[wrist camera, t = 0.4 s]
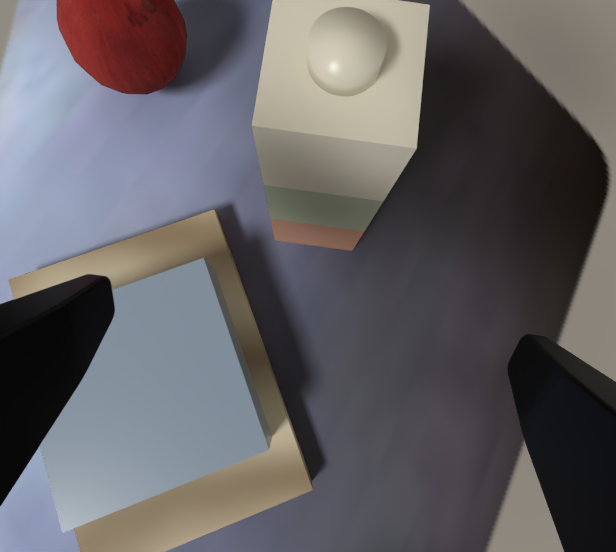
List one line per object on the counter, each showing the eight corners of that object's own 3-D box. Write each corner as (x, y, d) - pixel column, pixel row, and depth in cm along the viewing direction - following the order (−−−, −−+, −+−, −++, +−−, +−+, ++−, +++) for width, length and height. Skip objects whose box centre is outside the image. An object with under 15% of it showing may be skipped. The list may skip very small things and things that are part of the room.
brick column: (352, 250, 22) (426, 132, 10) (274, 240, 22) (248, 108, 10) (360, 177, 23) (439, -21, 10) (285, 167, 23) (274, -44, 10)
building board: (311, 481, 20) (312, 489, 19) (101, 568, 19) (88, 583, 18) (218, 216, 22) (214, 209, 21) (24, 283, 21) (8, 279, 20)
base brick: (272, 436, 19) (268, 449, 17) (91, 508, 19) (62, 533, 16) (214, 267, 21) (203, 257, 18) (43, 328, 20) (8, 326, 18)
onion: (176, 21, 24) (119, -133, 16) (217, 98, 24) (177, -25, 16) (87, 58, 24) (-17, -83, 16) (125, 138, 23) (37, 32, 15)
